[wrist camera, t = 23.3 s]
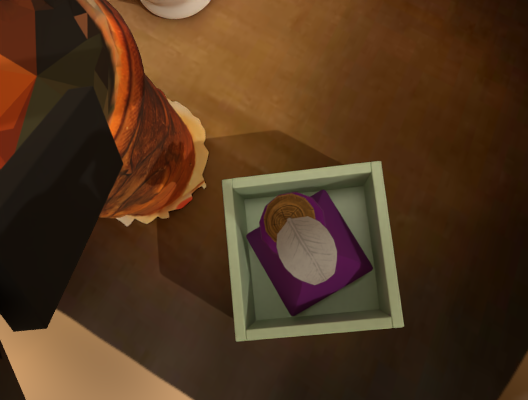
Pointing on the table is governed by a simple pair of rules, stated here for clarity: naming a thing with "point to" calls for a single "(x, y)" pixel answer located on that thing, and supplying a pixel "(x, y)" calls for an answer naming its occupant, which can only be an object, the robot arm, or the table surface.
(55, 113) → the robot arm
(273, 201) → the perfume bottle
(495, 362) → the table surface
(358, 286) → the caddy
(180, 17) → the jar
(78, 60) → the vessel
